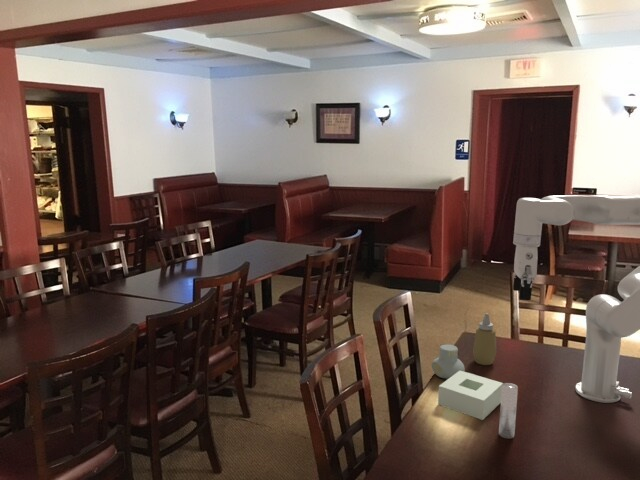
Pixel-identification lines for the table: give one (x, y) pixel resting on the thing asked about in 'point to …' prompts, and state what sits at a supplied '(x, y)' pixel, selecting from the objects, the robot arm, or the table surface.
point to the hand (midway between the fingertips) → (521, 295)
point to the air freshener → (447, 362)
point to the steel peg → (508, 410)
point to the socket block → (470, 394)
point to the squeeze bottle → (485, 342)
